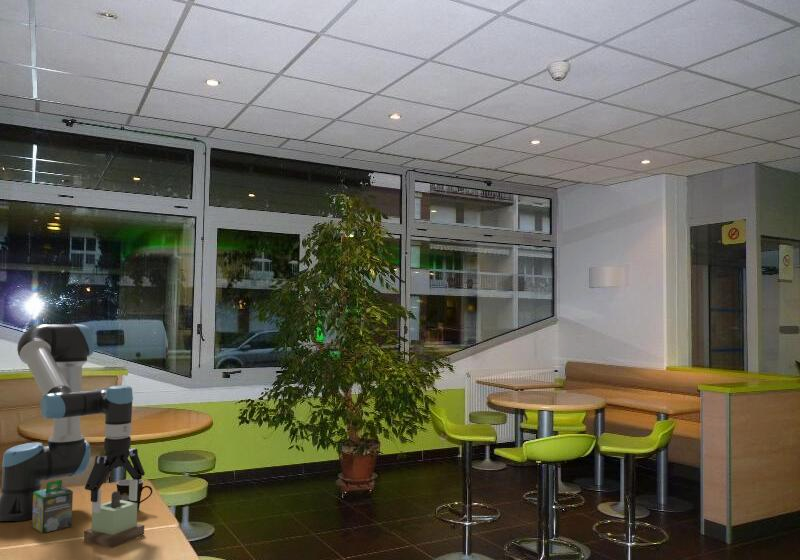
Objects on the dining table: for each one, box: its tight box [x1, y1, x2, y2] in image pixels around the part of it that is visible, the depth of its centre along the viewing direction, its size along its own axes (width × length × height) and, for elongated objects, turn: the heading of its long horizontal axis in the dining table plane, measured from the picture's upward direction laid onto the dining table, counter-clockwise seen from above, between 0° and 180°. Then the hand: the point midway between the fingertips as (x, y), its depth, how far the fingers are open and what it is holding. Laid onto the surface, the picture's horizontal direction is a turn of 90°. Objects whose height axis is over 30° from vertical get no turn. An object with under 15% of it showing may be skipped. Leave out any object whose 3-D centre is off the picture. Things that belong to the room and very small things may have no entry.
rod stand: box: [83, 490, 145, 548], centre depth 195 cm, size 12×12×14 cm
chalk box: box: [31, 479, 74, 534], centre depth 205 cm, size 9×9×15 cm
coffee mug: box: [116, 478, 153, 512], centre depth 221 cm, size 12×9×10 cm
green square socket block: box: [91, 500, 138, 535], centre depth 195 cm, size 9×9×7 cm
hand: (115, 506), depth 196 cm, fingers open, 13 cm apart
